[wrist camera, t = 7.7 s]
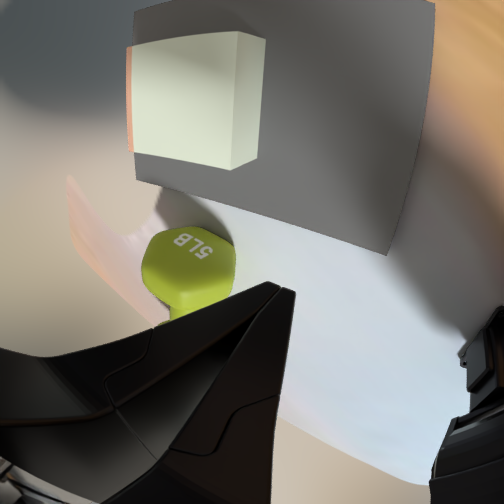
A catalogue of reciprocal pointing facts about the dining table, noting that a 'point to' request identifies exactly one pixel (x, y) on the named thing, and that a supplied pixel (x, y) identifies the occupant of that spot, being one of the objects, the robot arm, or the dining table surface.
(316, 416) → the dining table surface
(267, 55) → the mat
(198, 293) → the dumbbell
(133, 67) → the slab
